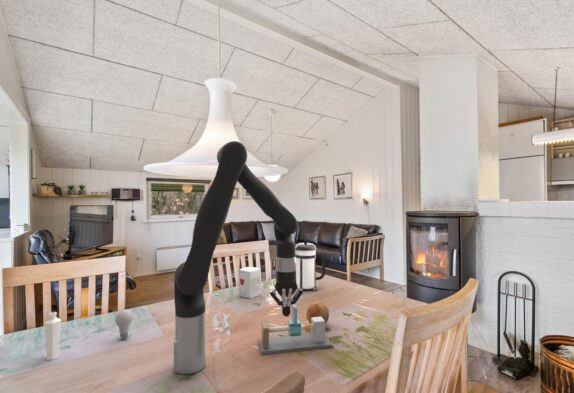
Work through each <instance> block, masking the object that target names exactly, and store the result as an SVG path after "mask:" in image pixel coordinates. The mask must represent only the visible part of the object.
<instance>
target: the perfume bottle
mask: <svg viewBox="0 0 574 393" xmlns="http://www.w3.org/2000/svg"><path fill="white" fill-rule="evenodd" d="M57 314H58V312H57V311H52V312H50V313H49V314H48V315H49V319H48V320H46V321H45V322H44V323H43V324H44V326H43V327H44V336H45V337H44V338H45V347H46V355H45V360H46V361H47V360H49V361H50V360H51V361H52V360H55V359H57V358H59V357H60V356H61V355H60V352H59V349H60V339H61V328H62V327H61V326H62V319H61V318H59V317H57Z"/></svg>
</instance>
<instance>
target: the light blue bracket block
mask: <svg viewBox="0 0 574 393" xmlns="http://www.w3.org/2000/svg"><path fill="white" fill-rule="evenodd" d="M287 324H288V325H287V326H290V331H287V332H288V334H289V335H288V336H290V337H292V336H301V335H302V330H301V325H302V323H301V321H300V320H299V319H298V307H297V305H296V303H295V304H293V305H291V319H289V320H287Z"/></svg>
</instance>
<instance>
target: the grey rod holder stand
mask: <svg viewBox="0 0 574 393" xmlns="http://www.w3.org/2000/svg"><path fill="white" fill-rule="evenodd" d="M303 330H305V332H307V333H304V334H301V336H292V337H290V335H283V336H282V335H281V336H271V337H270V333H279V332H288V331H290V326H288V325H285V326H273V327H272V326H271V327H269V324H268V321H261V337H260V338H259V337H258V345H259V350H260V351H259V352H260V355H270V354H279V353H280V354H281V353H290V352H299V351H310V350H321V349H330V348H333V347H334V346H333V343H332V341H331V340H330V339H329V337H328V336H327V335H326V324H325V321H324V319H323V318H322V317H311V324H310V323H309V322H308V321H306V322H305V324H301V331H303ZM308 332H311V333H308Z"/></svg>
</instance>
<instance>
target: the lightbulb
mask: <svg viewBox="0 0 574 393" xmlns="http://www.w3.org/2000/svg"><path fill="white" fill-rule="evenodd" d="M133 319H134V314H133V312H132V311H131V310H128V309H122V310H120V311H119V312H117V313H116V315H115V318H114V321H115V324H116V326H117V327H118V330H119V331H118V332H119V334H120V335H119V336H120V339H122V340H124V339H127V338H128V336H129V331H130V330H129V329H130V326H131V323H132V321H133Z"/></svg>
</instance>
